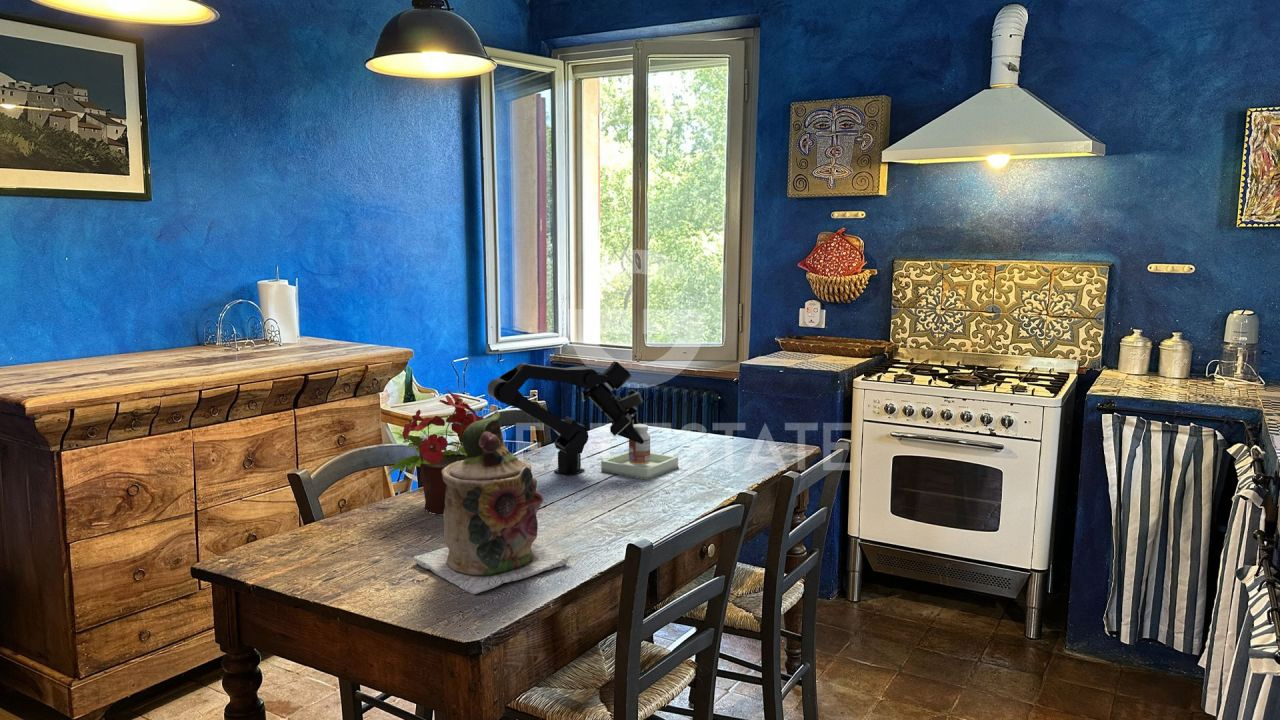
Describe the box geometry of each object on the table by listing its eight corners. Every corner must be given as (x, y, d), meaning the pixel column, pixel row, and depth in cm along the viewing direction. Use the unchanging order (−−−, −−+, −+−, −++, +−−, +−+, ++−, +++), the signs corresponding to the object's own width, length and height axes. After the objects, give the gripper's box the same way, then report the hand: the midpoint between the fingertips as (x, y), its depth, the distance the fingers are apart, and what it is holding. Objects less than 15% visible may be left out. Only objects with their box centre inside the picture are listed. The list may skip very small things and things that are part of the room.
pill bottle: (627, 460, 260) (628, 423, 259) (648, 460, 261) (649, 423, 259) (629, 466, 254) (629, 428, 253) (651, 465, 255) (651, 427, 253)
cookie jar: (409, 564, 186) (402, 414, 181) (505, 535, 203) (501, 397, 198) (477, 598, 168) (472, 433, 164) (576, 564, 186) (574, 414, 181)
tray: (647, 479, 247) (647, 469, 247) (601, 471, 256) (601, 460, 256) (678, 467, 260) (678, 457, 260) (633, 459, 269) (633, 449, 269)
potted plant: (479, 526, 209) (475, 400, 205) (373, 519, 214) (367, 396, 210) (520, 490, 238) (518, 379, 233) (426, 484, 243) (422, 376, 238)
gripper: (621, 388, 246) (661, 428, 246) (630, 377, 264) (667, 415, 264) (593, 415, 248) (632, 455, 248) (604, 402, 266) (640, 439, 266)
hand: (644, 440), depth 257 cm, fingers closed on pill bottle, 6 cm apart
